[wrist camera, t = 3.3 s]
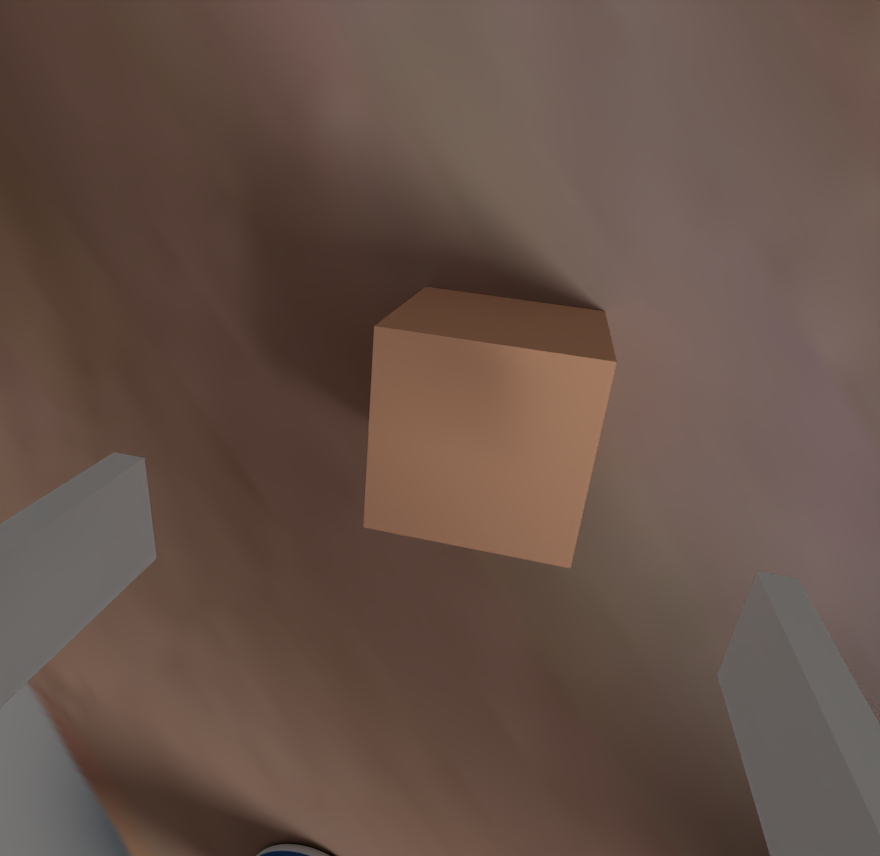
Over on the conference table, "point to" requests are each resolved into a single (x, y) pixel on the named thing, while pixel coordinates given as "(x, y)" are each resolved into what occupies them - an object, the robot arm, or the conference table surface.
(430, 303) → the terracotta block
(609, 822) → the conference table surface
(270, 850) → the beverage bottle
